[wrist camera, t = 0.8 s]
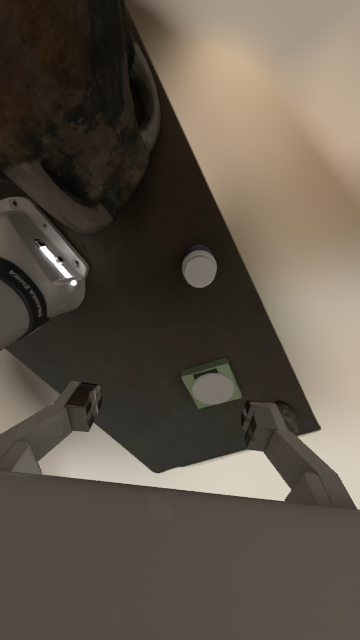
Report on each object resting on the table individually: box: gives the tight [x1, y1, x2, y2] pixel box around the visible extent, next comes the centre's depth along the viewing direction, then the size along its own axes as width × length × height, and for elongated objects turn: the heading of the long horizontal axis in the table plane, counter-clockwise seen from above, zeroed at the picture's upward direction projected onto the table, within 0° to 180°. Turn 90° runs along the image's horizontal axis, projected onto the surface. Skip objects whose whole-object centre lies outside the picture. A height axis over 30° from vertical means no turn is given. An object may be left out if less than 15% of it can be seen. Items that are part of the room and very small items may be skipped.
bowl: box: [0, 0, 161, 235], centre depth 24 cm, size 27×26×15 cm
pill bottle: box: [182, 245, 217, 288], centre depth 34 cm, size 6×6×10 cm
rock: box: [276, 403, 299, 434], centre depth 55 cm, size 12×10×5 cm
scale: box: [181, 357, 242, 408], centre depth 51 cm, size 12×12×3 cm
